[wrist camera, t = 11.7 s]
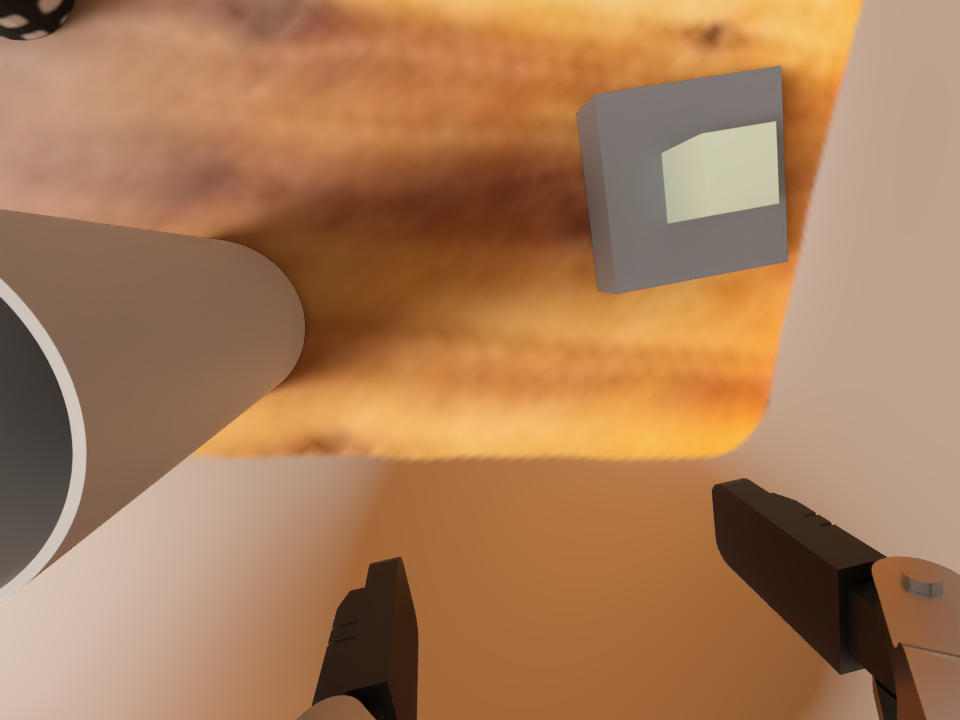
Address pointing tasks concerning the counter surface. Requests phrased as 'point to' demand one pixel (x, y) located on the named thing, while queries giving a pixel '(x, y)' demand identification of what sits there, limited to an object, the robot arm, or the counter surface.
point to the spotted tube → (32, 17)
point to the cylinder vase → (120, 368)
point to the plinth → (640, 183)
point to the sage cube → (721, 172)
